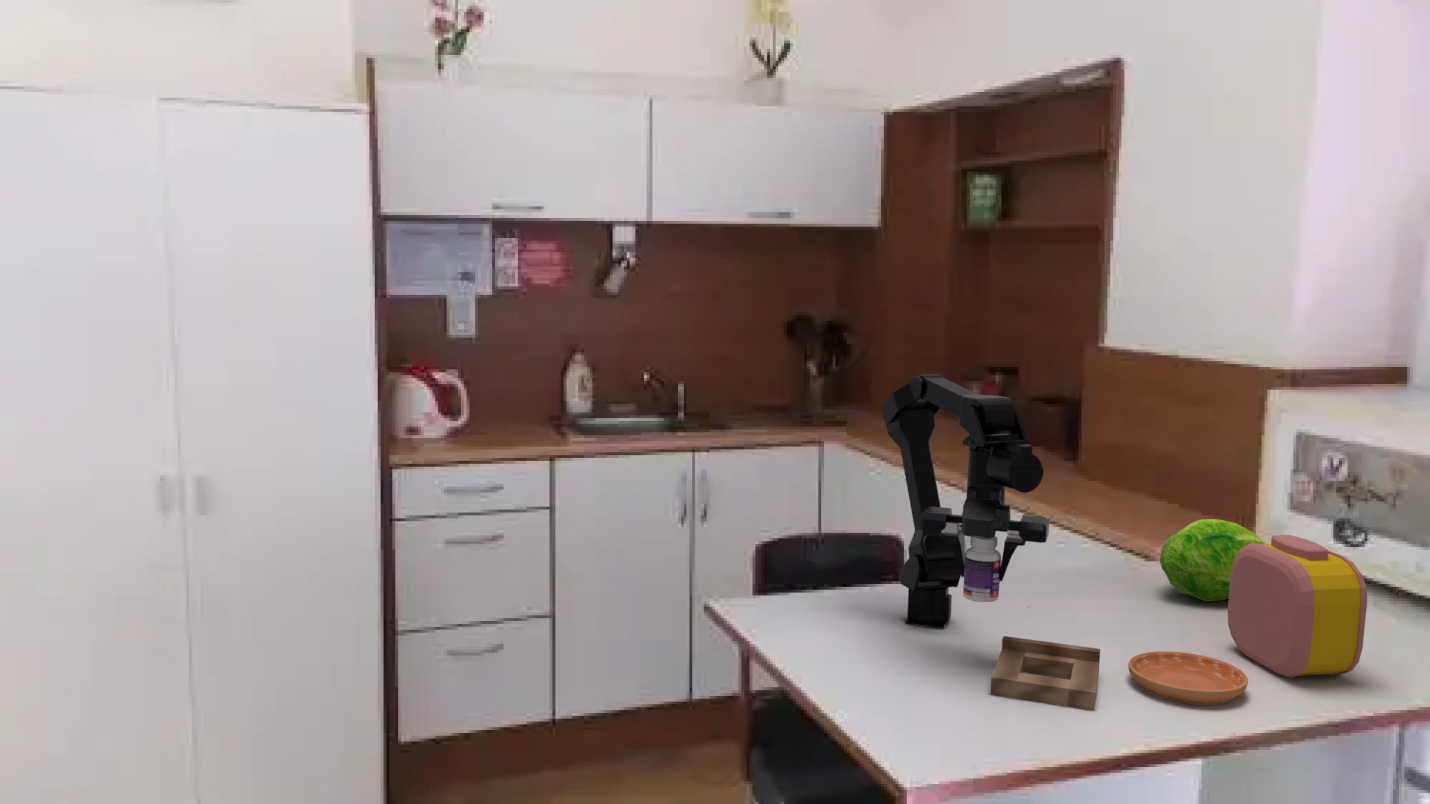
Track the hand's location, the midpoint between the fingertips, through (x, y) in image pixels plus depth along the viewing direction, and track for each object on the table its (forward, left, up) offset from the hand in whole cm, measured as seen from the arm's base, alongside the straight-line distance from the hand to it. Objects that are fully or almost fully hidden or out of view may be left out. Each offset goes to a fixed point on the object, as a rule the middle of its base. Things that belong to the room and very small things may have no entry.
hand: (981, 578), depth 174 cm
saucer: (+30, -2, -13) cm, 32 cm away
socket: (+11, -9, -12) cm, 19 cm away
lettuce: (+36, +47, -12) cm, 60 cm away
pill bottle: (0, 0, -3) cm, 3 cm away
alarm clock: (+45, +14, -12) cm, 49 cm away
